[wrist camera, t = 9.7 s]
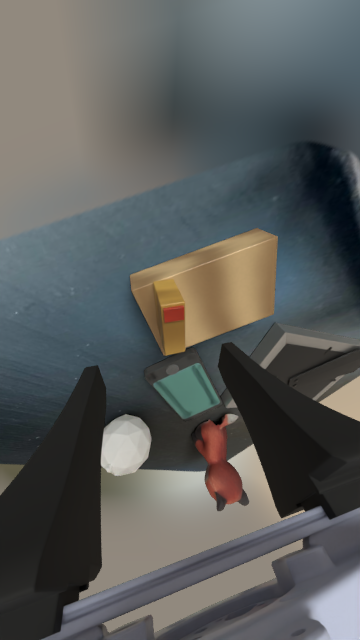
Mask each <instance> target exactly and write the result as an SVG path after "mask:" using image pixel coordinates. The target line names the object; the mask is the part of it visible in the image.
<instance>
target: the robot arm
mask: <svg viewBox="0 0 360 640" xmlns="http://www.w3.org/2000/svg"><path fill="white" fill-rule="evenodd" d="M218 368H219V370H220V373H221V376H222V378H223V381H224V383H225V385H226V387H227V389H228V391H229V393H230V394H231V396H232V398H233V400H234V402H235V404H236V406H237V408H238V410H239V411H240V413H241V415H242V417H243V419H244V422H245V424H246V426H247V429H248V431H249V433H250V436H251V438H252V441H253V443H254V446H255V449H256V451H257V454H258V456H259V459H260V462H261V465H262V467H263V470H264V472H265V476H266V479H267V482H268V485H269V488H270V491H271V493H272V497H273V500H274V503H275V506H276V508H277V511H278V512H279V515H280V517H281V518H283V517H286V516H289V515H291V514H294V513H296V512H299V511H301V510H305V512H303V513H301V514H298V515H296V516H293V517H291V518H288V519H285V520H283V521H281V522H278V523H275V524H273V525H270V526H268V527H265V528H262V529H260V530H257V531H255V532H252V533H250V534H247V535H245V536H242V537H240V538H237V539H234V540H232V541H229V542H227V543H224V544H222V545H219V546H217V547H214V548H211V549H209V550H206V551H204V552H201V553H199V554H197V555H194V556H191V557H189V558H186V559H184V560H181V561H178V562H176V563H173V564H171V565H168V566H166V567H163V568H160V569H158V570H155V571H153V572H150V573H148V574H145V575H143V576H140V577H138V578H135V579H133V580H130V581H127V582H125V583H122V584H120V585H117V586H115V587H112V588H110V589H107V590H104V591H102V592H99V593H97V594H94V595H92V596H89V597H87V598H84V599H81V600H79V592H82V591H84V590H87V589H88V587H89V582H90V581H93V580H94V579H95V578H96V577H97V575H98V573H99V571H100V569H101V567H102V557H101V511H100V510H101V507H100V506H101V505H100V504H101V503H100V501H101V498H100V497H101V485H100V483H101V452H102V442H103V432H104V423H105V413H106V387H105V384H104V381H103V378H102V376H101V373H100V370H99V367H98V365H97V366H91V367H86V368H85V369H84V371H83V373H82V375H81V377H80V379H79V381H78V383H77V385H76V387H75V389H74V391H73V393H72V395H71V396H70V398H69V400H68V402H67V403H66V405H65V407H64V409H63V410H62V412H61V414H60V415H59V417H58V419H57V420H56V422H55V423H54V425H53V427H52V428H51V430H50V431H49V433H48V434H47V436H46V437H45V439H44V440H43V441H42V443H41V444H40V446H39V447H38V448H37V450H36V451H35V453H34V454H33V455H32V457H31V458H30V459H29V461H28V462H27V463H26V464H25V466H24V467H23V469H22V470H21V471H20V472H19V474H18V475H17V476H16V477H15V479H14V480H13V481H12V482H11V484H10V485H9V486H8V487H7V488H6V489H5V491H4V492H3V493H2V494H1V495H0V640H360V422H359V421H357V420H355V419H352V418H350V417H348V416H345V415H343V414H341V413H339V412H337V411H335V410H332V409H330V408H328V407H326V406H324V405H322V404H320V403H318V402H316V401H315V400H313V399H311V398H309V397H307V396H305V395H304V394H302V393H300V392H298V391H297V390H295V389H293V388H292V387H290V386H289V385H287V384H285V383H284V382H282V381H281V380H279V379H278V378H276V377H275V376H274V375H272V374H271V373H269V372H268V371H267V370H265V369H264V368H263V367H261V366H260V365H259V364H257V363H256V362H255V361H254V360H252V359H251V358H250V357H249V356H247V355H246V354H245V353H244V352H243V351H241V350H240V349H239V348H238V347H237V346H235V345H234V344H233V343H232V342H230V343H224V344H222V347H221V353H220V358H219V363H218ZM303 538H304V539H303ZM301 539H303V548H302V549H301V550H298V551H295V552H292V553H290V554H287V555H285V556H283V557H281V558H279V559H277V560H275V561H273V562H272V567H273V569H274V573H275V575H276V578H275V579H272V580H270V581H268V582H265V583H263V584H260V585H258V586H255V587H253V588H251V589H248V590H246V591H244V592H241V593H238V594H236V595H234V596H231V597H229V598H227V599H224V600H222V601H220V602H217V603H215V604H213V605H211V606H209V607H206V608H204V609H202V610H200V611H198V612H196V613H194V614H192V615H190V616H188V617H186V618H183V619H181V620H179V621H177V622H175V623H173V624H171V625H169V626H167V627H165V628H163V629H161V630H159V631H157V632H155V633H154V629H153V617H152V616H151V615H148V616H145V617H143V618H140V619H137V620H135V621H133V622H130V623H128V624H125V625H124V626H121V627H119V628H117V629H115V630H113V631H111V632H110V633H109V632H108V631H107V629H106V626H105V625H104V624H102V623H104V622H106V621H109V620H111V619H114V618H116V617H118V616H121V615H123V614H125V613H128V612H130V611H133V610H135V609H137V608H140V607H142V606H145V605H147V604H149V603H151V602H153V601H156V600H159V599H161V598H163V597H166V596H168V595H171V594H173V593H175V592H178V591H180V590H182V589H185V588H187V587H189V586H192V585H194V584H197V583H199V582H201V581H203V580H206V579H208V578H211V577H213V576H215V575H218V574H220V573H222V572H225V571H227V570H229V569H232V568H234V567H237V566H239V565H241V564H244V563H246V562H249V561H251V560H253V559H256V558H258V557H260V556H263V555H265V554H267V553H270V552H272V551H274V550H277V549H279V548H282V547H284V546H286V545H289V544H291V543H293V542H296V541H298V540H301ZM78 600H79V601H78Z"/></svg>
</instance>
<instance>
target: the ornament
mask: <svg viewBox="0 0 360 640" xmlns="http://www.w3.org/2000/svg"><path fill="white" fill-rule="evenodd" d="M150 444H151V435H150V431H149V428H148V427H147V425H146V424H145V423H144V422H143V421H142V420H141V419H140V418H139V417H135V416H131V415H127V414H125V415H123V416H120V417H118V418H116V419H114V420H113V421H112V422H110V423H109V424H108V425H107V426H106V427H105V428H104V432H103V442H102V452H101V466H102V467H103V468H105V469H106V471H107V472H108V473H109V472H111V473H113V474H114V475H115V476H119V475H125V474H129V473H135V472H136V470H137V469H138V468H139V467H140V466H141V465H142V464H143V463H144V462H145V460H146V459H147V458H148V455H149V450H150Z"/></svg>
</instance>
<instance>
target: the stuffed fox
mask: <svg viewBox="0 0 360 640" xmlns="http://www.w3.org/2000/svg"><path fill="white" fill-rule="evenodd" d="M220 419H221V420H220V421H219V423H218V424H217V425H215V424H214V423H213V422H212V421H211V420H209V421H207V422H204V423H202V424H200V425H199V426H198V427H197V428H196V430H195V432H194V433H192V439H193V442H194V444H195V445H196V447H197V449H198V451H199V452H200V453H201V454H202V455H203V456H204V458H205V459H206V461H207V462H208V467H207V469H206V473H205V484H206V487H207V489H208V491H209V493H210V495H211V496H212V497H213V498H214V499H215V500H216V501H217V511H222V510H223V509H224V507H225V505H226V504H232V503H234V502H239V503H240V504H242V505H244V506H246V505H248V504H249V500H248V497H247V494H246V493H245V491H244V490H243V489H242V480H241V478H240V476H239V474H238V472H237V471H236V469H235V468H234V467H233V466H232V465H231V464H230V463H229V462H227V460H226V453H227V448H226V445H227V431H226V428H225V426H227V425H230V424H231V423H233V422H234V421H236V420H237V419H238V416H236V415H233V414H226V415H225V416H222V418H220Z"/></svg>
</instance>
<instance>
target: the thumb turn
mask: <svg viewBox="0 0 360 640" xmlns="http://www.w3.org/2000/svg"><path fill="white" fill-rule="evenodd" d="M153 288H154V297H155V306H156V315H157V324H158V330H159V334H160V338H161V342H162V346H163V350H164V353H165V355H171V354H176V353H181V352H185V301H184V299H183V297H182V295H181V293H180V291H179V289H178V287H177V285H176V283H175V281H174V279H168V280H160V281H154V282H153Z"/></svg>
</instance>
